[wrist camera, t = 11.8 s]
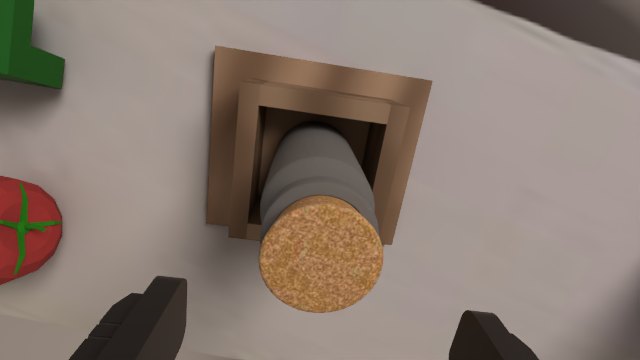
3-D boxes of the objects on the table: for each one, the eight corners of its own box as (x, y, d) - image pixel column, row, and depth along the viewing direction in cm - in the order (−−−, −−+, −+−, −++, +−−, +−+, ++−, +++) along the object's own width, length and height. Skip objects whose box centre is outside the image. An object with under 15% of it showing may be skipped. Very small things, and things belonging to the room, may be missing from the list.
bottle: (319, 204, 28) (332, 348, 14) (261, 162, 27) (211, 276, 13) (365, 150, 27) (431, 250, 13) (307, 104, 25) (308, 156, 11)
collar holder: (427, 80, 26) (461, 84, 21) (388, 239, 31) (407, 279, 25) (218, 46, 25) (192, 41, 19) (209, 218, 29) (186, 255, 24)
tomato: (-136, 286, 21) (-40, 280, 19) (-92, 167, 23) (-3, 153, 22) (5, 287, 28) (83, 283, 26) (28, 197, 30) (100, 188, 29)
